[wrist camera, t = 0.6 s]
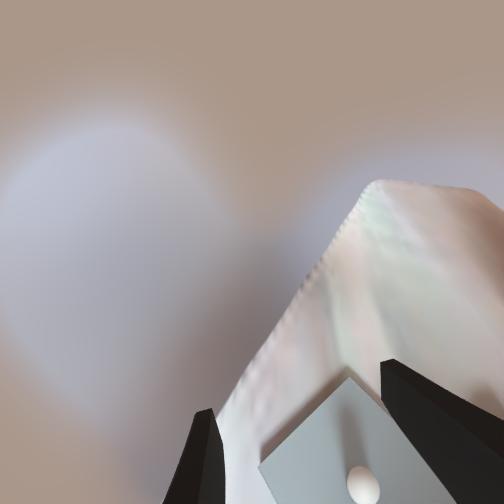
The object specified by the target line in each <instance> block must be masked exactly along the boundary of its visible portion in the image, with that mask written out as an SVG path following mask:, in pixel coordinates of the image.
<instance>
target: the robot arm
mask: <svg viewBox="0 0 504 504" xmlns="http://www.w3.org/2000/svg"><path fill="white" fill-rule="evenodd" d="M380 371H381V399H382V401H383V403H384V404H385V406H386V408H387V409H388V411H389V413H390V414H391V416H392V417H393V419H394V421H395V422H396V424H397V425H398V427H399V428H400V429H401V431H402V432H403V433H404V435H405V436H406V437H407V439H408V440H409V441H410V443H411V444H412V445H413V447H414V448H415V449H416V450H417V452H418V453H419V454H420V456H421V457H422V458H423V460H424V461H425V462H426V463H427V465H428V466H429V467H430V469H431V470H432V471H433V473H434V474H435V475H436V476H437V478H438V479H439V480H440V482H441V483H442V484H443V486H444V487H445V488H446V489H447V491H448V492H449V494H450V495H451V496H452V498H453V499H454V500H455V502H456V503H457V504H504V420H502V419H500V418H498V417H496V416H494V415H492V414H490V413H488V412H486V411H484V410H482V409H480V408H478V407H477V406H475V405H473V404H471V403H469V402H467V401H465V400H464V399H462V398H460V397H458V396H456V395H455V394H453V393H451V392H449V391H448V390H446V389H444V388H442V387H441V386H439V385H437V384H435V383H434V382H432V381H430V380H429V379H427V378H425V377H424V376H422V375H420V374H419V373H417V372H415V371H414V370H412V369H410V368H409V367H407V366H405V365H404V364H402V363H400V362H399V361H397V360H395V359H390V360H387V361H383V362H380ZM162 504H225V463H224V450H223V443H222V439H221V436H220V433H219V430H218V426H217V423H216V420H215V417H214V413H213V410H212V408H210V409H207V410H203V411H199V412H197V413H196V414H195V416H194V419H193V423H192V426H191V430H190V432H189V435H188V438H187V441H186V444H185V448H184V450H183V453H182V456H181V458H180V461H179V464H178V466H177V469H176V472H175V474H174V477H173V479H172V482H171V485H170V487H169V489H168V492H167V494H166V496H165V499H164V501H163V503H162Z"/></svg>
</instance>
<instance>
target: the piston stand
mask: <svg viewBox="0 0 504 504" xmlns="http://www.w3.org/2000/svg"><path fill="white" fill-rule="evenodd" d="M258 469H259V471H260V473H261V474H262V476H263V478H264V480H265V482H266V484H267V486H268V488H269V489H270V491H271V493H272V495H273V497H274V499H275V501H276V503H277V504H457V503H456V502H455V500H454V499H453V498H452V496H451V495H450V494H449V492H448V491H447V489H446V488H445V487H444V486H443V484H442V483H441V482H440V480H439V479H438V478H437V476H436V475H435V474H434V473H433V471H432V470H431V469H430V467H429V466H428V465H427V463H426V462H425V461H424V460H423V458H422V457H421V456H420V454H419V453H418V452H417V450H416V449H415V448H414V447H413V445H412V444H411V443H410V441H409V440H408V439H407V437H406V436H405V435H404V433H403V432H402V431H401V429H400V428H399V427H398V425H397V424H396V422H395V421H394V420H393V419H392V418H391V417H390V416H389V415H388V414H387V413H386V412H385V411H384V410H383V409H382V408H381V407H380V406H379V405H378V404H377V403H376V402H375V401H374V400H373V399H372V398H371V397H370V396H369V395H368V394H367V393H366V392H365V391H364V390H363V389H362V388H361V387H360V386H359V385H358V384H357V383H356V382H355V381H354V380H353V379H352V378H351V377H350V376H349V377H348V378H347V379H346V380H345V381H344V382H343V383H342V384H341V385H340V386H339V387H338V388H337V389H336V390H335V391H334V392H333V393H332V394H331V395H330V396H329V397H328V398H327V399H326V400H325V401H324V402H323V403H322V404H321V405H320V406H319V407H318V408H317V409H316V410H315V411H314V412H313V413H312V414H311V415H310V416H309V417H308V418H307V419H306V420H305V421H304V422H303V423H302V424H301V425H299V426H298V427H297V428H296V429H295V430H294V431H293V432H292V433H291V434H290V435H289V436H288V437H287V438H286V439H285V440H284V441H283V442H282V443H281V444H280V445H279V446H278V447H277V448H276V449H275V450H274V451H273V452H272V453H271V454H270V455H269V456H268V457H267V458H266V459H265V460H264V461H263V462H262V463H261V464H260V465H259V466H258Z"/></svg>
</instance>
